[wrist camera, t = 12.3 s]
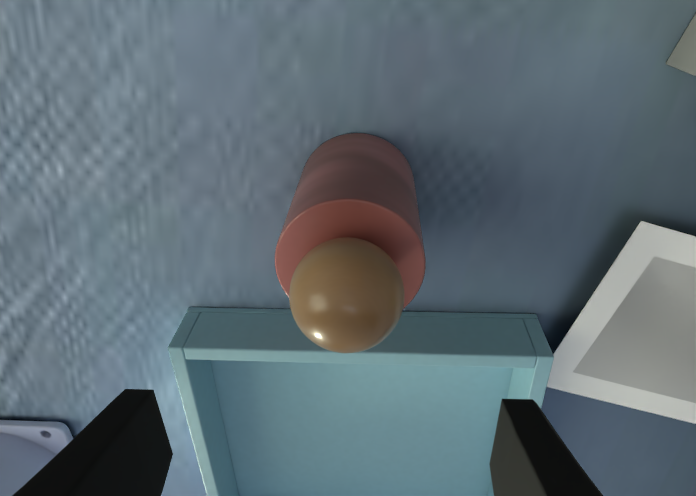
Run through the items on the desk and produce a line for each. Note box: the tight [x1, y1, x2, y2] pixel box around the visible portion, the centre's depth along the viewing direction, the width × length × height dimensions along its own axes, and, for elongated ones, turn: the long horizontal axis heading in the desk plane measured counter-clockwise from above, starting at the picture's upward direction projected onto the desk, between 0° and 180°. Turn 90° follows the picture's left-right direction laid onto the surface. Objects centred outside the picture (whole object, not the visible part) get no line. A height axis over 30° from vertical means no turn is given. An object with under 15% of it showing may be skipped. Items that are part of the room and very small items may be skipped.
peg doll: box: [275, 133, 425, 353], centre depth 14 cm, size 4×4×8 cm
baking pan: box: [168, 307, 554, 496], centre depth 23 cm, size 14×13×2 cm
